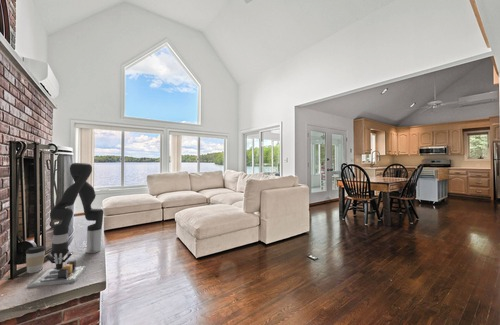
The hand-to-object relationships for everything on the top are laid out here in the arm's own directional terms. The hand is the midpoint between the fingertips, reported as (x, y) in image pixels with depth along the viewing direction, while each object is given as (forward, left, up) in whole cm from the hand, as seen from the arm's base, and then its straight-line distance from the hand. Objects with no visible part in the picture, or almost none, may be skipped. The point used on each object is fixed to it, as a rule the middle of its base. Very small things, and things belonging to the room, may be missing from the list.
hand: (59, 269), depth 131 cm
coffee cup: (-13, -18, -5) cm, 23 cm away
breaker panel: (0, 0, -5) cm, 5 cm away
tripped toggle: (0, +4, -3) cm, 5 cm away
